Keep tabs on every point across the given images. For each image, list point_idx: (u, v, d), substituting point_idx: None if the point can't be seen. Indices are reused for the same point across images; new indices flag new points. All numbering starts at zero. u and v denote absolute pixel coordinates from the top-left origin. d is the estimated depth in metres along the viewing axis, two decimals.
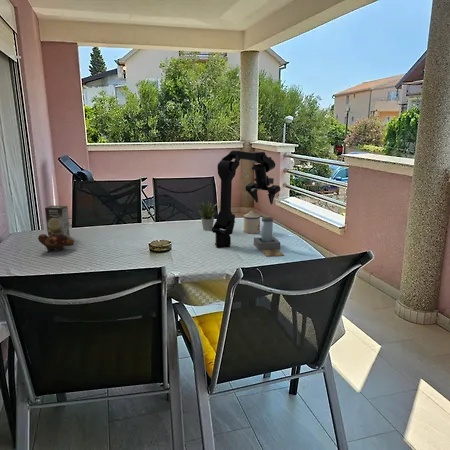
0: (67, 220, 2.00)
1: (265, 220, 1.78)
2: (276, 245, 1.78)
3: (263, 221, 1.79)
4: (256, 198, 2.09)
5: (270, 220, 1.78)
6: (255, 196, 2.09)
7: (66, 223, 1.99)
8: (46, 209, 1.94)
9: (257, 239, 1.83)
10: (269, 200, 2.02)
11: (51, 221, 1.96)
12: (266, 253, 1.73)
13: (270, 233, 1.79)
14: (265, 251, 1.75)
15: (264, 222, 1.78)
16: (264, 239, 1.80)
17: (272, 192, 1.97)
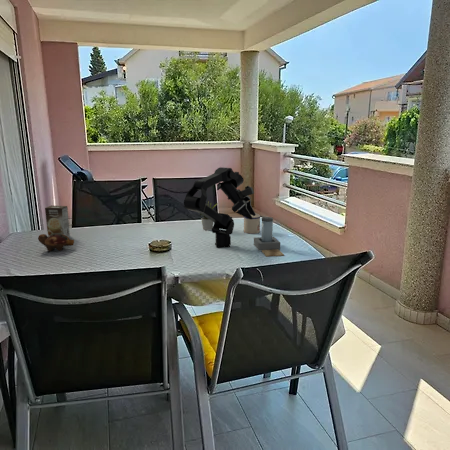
0: (67, 220, 2.00)
1: (265, 220, 1.78)
2: (276, 245, 1.78)
3: (263, 221, 1.79)
4: (251, 212, 1.87)
5: (270, 220, 1.78)
6: (248, 210, 1.87)
7: (66, 223, 1.99)
8: (46, 209, 1.94)
9: (257, 239, 1.83)
10: None
11: (51, 221, 1.96)
12: (266, 253, 1.73)
13: (270, 233, 1.79)
14: (265, 251, 1.75)
15: (264, 222, 1.78)
16: (264, 239, 1.80)
17: None
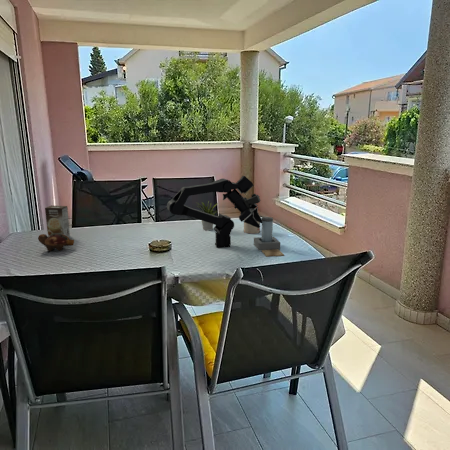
0: (67, 220, 2.00)
1: (265, 220, 1.78)
2: (276, 245, 1.78)
3: (263, 221, 1.79)
4: (258, 219, 1.86)
5: (270, 220, 1.78)
6: (256, 218, 1.86)
7: (66, 223, 1.99)
8: (46, 209, 1.94)
9: (257, 239, 1.83)
10: None
11: (51, 221, 1.96)
12: (266, 253, 1.73)
13: (270, 233, 1.79)
14: (265, 251, 1.75)
15: (264, 222, 1.78)
16: (264, 239, 1.80)
17: None
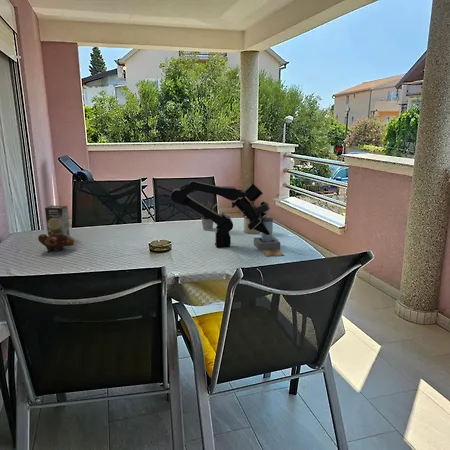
0: (67, 220, 2.00)
1: (265, 220, 1.78)
2: (276, 245, 1.78)
3: (263, 221, 1.79)
4: None
5: (270, 220, 1.78)
6: None
7: (66, 223, 1.99)
8: (46, 209, 1.94)
9: (257, 239, 1.83)
10: (262, 232, 1.79)
11: (51, 221, 1.96)
12: (266, 253, 1.73)
13: (270, 233, 1.79)
14: (265, 251, 1.75)
15: (264, 222, 1.78)
16: (264, 239, 1.80)
17: None
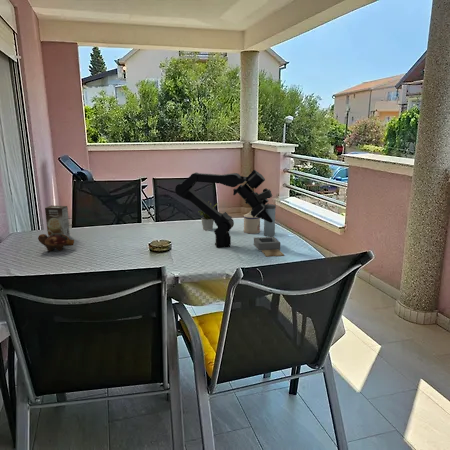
0: (67, 220, 2.00)
1: (268, 207, 1.73)
2: (276, 245, 1.78)
3: (266, 208, 1.74)
4: None
5: (273, 207, 1.74)
6: None
7: (66, 223, 1.99)
8: (46, 209, 1.94)
9: (257, 239, 1.83)
10: (265, 219, 1.75)
11: (51, 221, 1.96)
12: (266, 253, 1.73)
13: (273, 220, 1.75)
14: (265, 251, 1.75)
15: (267, 209, 1.74)
16: (267, 227, 1.76)
17: None
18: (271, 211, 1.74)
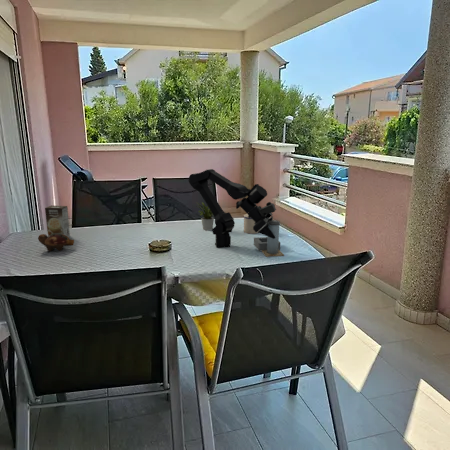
0: (67, 220, 2.00)
1: (271, 224, 1.69)
2: None
3: (269, 225, 1.69)
4: None
5: (277, 224, 1.69)
6: None
7: (66, 223, 1.99)
8: (46, 209, 1.94)
9: (257, 239, 1.83)
10: (267, 235, 1.68)
11: (51, 221, 1.96)
12: (266, 253, 1.73)
13: (276, 237, 1.70)
14: (265, 251, 1.75)
15: (270, 226, 1.69)
16: (270, 244, 1.71)
17: None
18: (275, 228, 1.69)
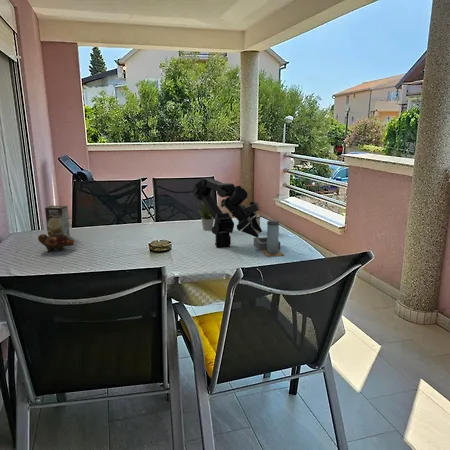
0: (67, 220, 2.00)
1: (271, 224, 1.69)
2: None
3: (269, 225, 1.69)
4: (257, 228, 1.78)
5: (276, 224, 1.69)
6: (254, 226, 1.78)
7: (66, 223, 1.99)
8: (46, 209, 1.94)
9: (257, 239, 1.83)
10: None
11: (51, 221, 1.96)
12: (266, 253, 1.73)
13: (276, 237, 1.70)
14: (265, 251, 1.75)
15: (270, 226, 1.69)
16: (270, 244, 1.71)
17: None
18: (274, 228, 1.69)
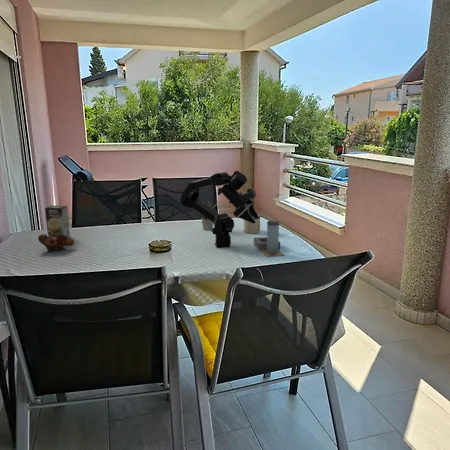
0: (67, 220, 2.00)
1: (271, 224, 1.69)
2: None
3: (269, 225, 1.69)
4: (254, 215, 1.81)
5: (276, 224, 1.69)
6: (252, 213, 1.81)
7: (66, 223, 1.99)
8: (46, 209, 1.94)
9: (257, 239, 1.83)
10: (247, 220, 1.73)
11: (51, 221, 1.96)
12: (266, 253, 1.73)
13: (276, 237, 1.70)
14: (265, 251, 1.75)
15: (270, 226, 1.69)
16: (270, 244, 1.71)
17: None
18: (274, 228, 1.69)
